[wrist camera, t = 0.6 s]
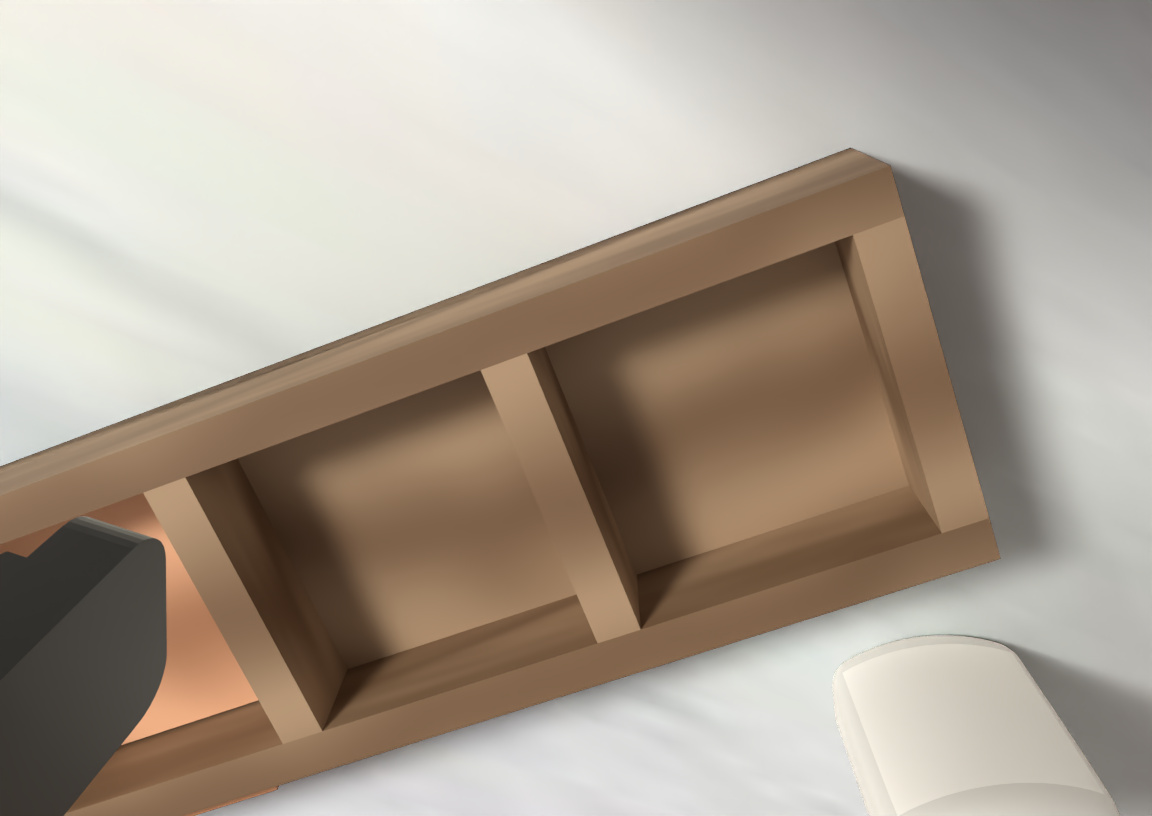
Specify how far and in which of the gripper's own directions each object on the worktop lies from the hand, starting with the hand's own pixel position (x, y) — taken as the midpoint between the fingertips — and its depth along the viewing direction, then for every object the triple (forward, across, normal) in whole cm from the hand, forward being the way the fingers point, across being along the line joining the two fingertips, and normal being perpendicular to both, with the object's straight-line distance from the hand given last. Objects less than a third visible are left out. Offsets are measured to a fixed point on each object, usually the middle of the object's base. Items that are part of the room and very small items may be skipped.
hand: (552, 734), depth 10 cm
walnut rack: (+17, +6, +11) cm, 22 cm away
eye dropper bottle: (+20, -9, +14) cm, 26 cm away
